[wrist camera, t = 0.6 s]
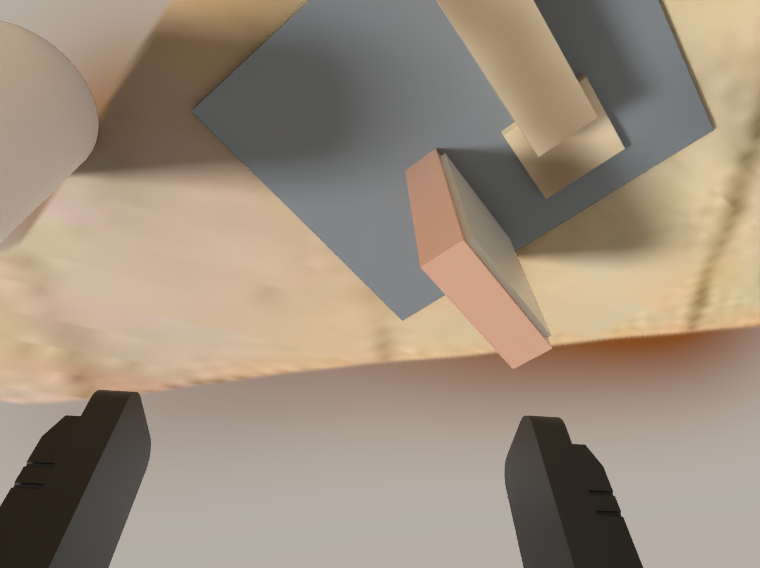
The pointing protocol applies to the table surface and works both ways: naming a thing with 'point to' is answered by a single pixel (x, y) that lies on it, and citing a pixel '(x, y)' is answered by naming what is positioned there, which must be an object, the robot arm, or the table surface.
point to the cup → (39, 122)
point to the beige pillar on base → (536, 90)
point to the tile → (473, 260)
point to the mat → (435, 122)
